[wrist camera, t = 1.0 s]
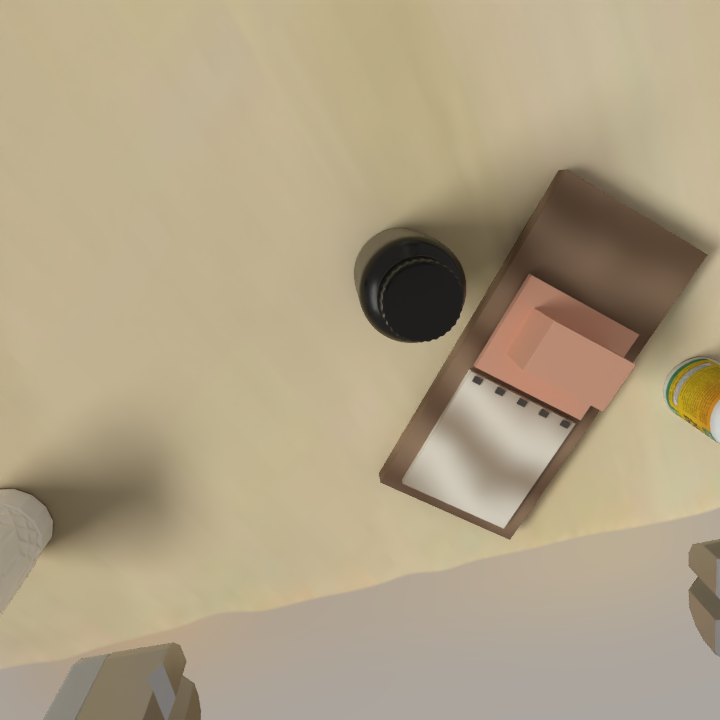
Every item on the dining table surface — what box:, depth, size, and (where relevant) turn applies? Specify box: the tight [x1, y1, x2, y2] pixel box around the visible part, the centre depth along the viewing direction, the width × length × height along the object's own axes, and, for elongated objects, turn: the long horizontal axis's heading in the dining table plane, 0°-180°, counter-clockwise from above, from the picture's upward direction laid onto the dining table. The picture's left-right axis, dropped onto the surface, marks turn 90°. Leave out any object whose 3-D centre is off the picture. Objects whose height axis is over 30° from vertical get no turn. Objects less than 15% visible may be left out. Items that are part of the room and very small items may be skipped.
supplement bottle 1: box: [354, 228, 466, 343], centre depth 37 cm, size 7×7×12 cm
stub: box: [474, 274, 639, 420], centre depth 41 cm, size 8×10×5 cm
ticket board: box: [379, 170, 707, 540], centre depth 45 cm, size 28×13×2 cm, turn 152°
